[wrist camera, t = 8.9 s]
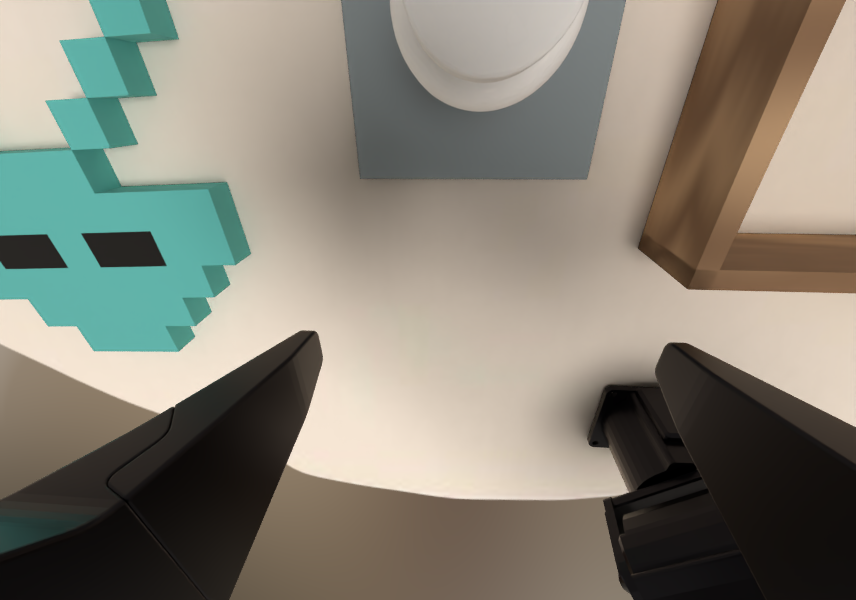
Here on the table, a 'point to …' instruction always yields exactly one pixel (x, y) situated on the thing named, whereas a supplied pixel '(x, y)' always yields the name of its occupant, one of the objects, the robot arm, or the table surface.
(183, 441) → the robot arm
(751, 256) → the walnut box
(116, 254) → the alien figure
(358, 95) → the slate mat
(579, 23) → the pill bottle
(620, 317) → the table surface
